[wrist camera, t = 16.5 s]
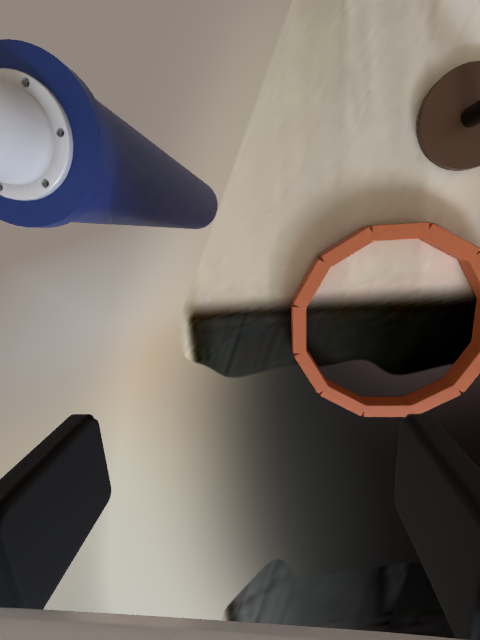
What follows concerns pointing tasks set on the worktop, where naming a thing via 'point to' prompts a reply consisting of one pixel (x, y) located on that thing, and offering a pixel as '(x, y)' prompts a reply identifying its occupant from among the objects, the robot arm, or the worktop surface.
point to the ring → (459, 377)
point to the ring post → (452, 119)
